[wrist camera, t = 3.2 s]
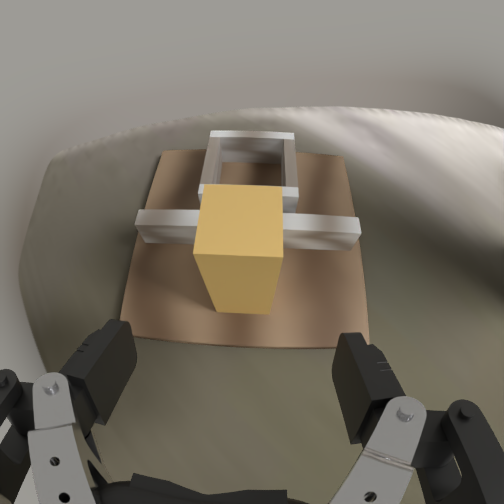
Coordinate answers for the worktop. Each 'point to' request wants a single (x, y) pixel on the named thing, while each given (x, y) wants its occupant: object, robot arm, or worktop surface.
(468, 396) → the worktop surface
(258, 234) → the block
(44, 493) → the robot arm
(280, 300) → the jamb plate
